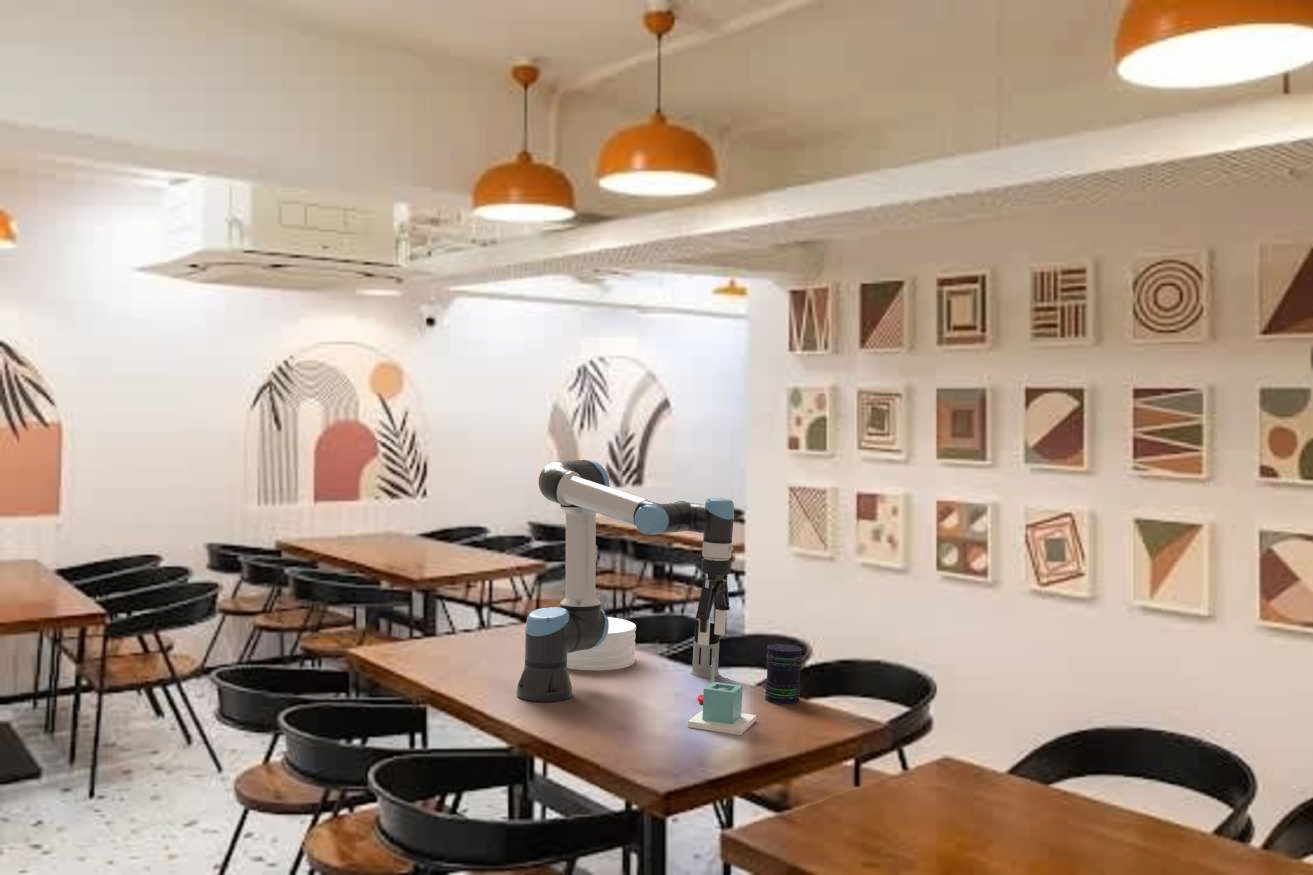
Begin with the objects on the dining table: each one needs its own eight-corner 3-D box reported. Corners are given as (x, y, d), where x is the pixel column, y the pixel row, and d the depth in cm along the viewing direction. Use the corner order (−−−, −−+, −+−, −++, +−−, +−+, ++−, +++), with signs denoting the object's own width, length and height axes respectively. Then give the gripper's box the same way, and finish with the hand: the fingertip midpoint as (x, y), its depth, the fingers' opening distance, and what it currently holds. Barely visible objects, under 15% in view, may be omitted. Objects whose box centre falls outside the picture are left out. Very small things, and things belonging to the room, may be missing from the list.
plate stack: (651, 659, 347) (652, 624, 347) (600, 675, 323) (602, 637, 323) (581, 646, 362) (582, 612, 362) (527, 660, 338) (529, 624, 338)
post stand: (687, 726, 274) (689, 691, 273) (704, 713, 287) (706, 679, 286) (740, 735, 269) (742, 699, 268) (755, 720, 282) (757, 686, 282)
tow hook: (699, 697, 305) (695, 704, 296) (701, 651, 305) (698, 656, 296) (729, 699, 304) (726, 706, 294) (731, 653, 304) (728, 659, 295)
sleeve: (702, 719, 275) (703, 688, 275) (711, 711, 283) (713, 681, 283) (732, 724, 273) (733, 692, 272) (741, 716, 280) (742, 685, 280)
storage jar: (806, 700, 304) (809, 648, 304) (786, 706, 297) (788, 652, 296) (778, 693, 311) (780, 641, 310) (757, 699, 304) (759, 646, 303)
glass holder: (719, 671, 334) (722, 623, 334) (717, 682, 320) (720, 632, 320) (691, 669, 335) (693, 621, 335) (688, 680, 321) (690, 630, 321)
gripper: (715, 565, 266) (710, 650, 267) (744, 554, 289) (739, 632, 290) (687, 562, 269) (681, 646, 270) (717, 551, 292) (712, 628, 293)
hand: (711, 639), depth 280 cm, fingers open, 13 cm apart
